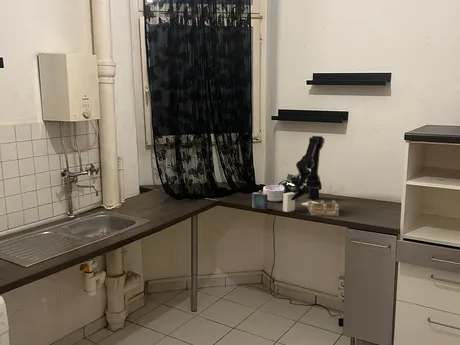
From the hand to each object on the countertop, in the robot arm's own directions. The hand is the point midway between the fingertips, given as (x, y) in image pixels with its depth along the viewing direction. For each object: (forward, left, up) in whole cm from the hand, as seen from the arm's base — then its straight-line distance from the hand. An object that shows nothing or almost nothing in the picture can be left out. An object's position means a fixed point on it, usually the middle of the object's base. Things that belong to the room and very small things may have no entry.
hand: (287, 198), depth 270 cm
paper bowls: (-24, +8, -7) cm, 27 cm away
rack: (+12, +16, -7) cm, 21 cm away
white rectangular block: (0, +1, -7) cm, 7 cm away
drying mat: (-2, +21, -7) cm, 23 cm away
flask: (-12, -11, -7) cm, 18 cm away
